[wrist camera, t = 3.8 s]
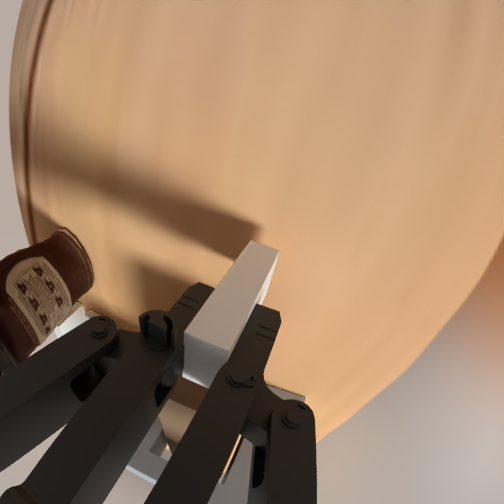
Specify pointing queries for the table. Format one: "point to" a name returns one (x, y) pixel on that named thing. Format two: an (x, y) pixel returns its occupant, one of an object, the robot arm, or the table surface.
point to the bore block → (235, 479)
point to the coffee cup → (39, 293)
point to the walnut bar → (181, 410)
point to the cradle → (74, 319)
